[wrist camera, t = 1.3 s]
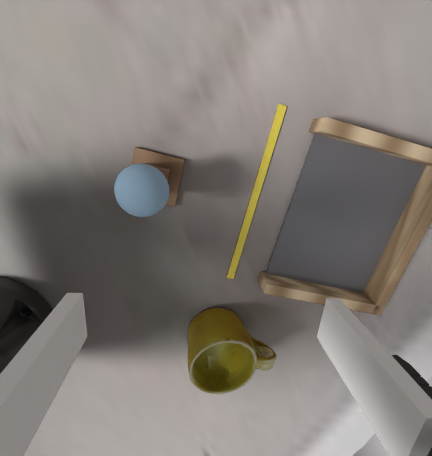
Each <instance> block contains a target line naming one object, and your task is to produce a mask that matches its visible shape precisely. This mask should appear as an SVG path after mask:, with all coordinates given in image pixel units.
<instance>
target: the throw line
mask: <svg viewBox="0 0 432 456" xmlns="http://www.w3.org/2000/svg"><path fill="white" fill-rule="evenodd" d="M286 108H287V106H284V105H281V104H279V105H278V108H277V112H276V115H275V118H274V122H273V125H272V128H271V132H270V135H269V138H268V142H267V145H266V148H265V152H264V155H263V158H262V162H261V165H260V168H259V172H258V175H257V178H256V182H255V185H254V188H253V192H252V195H251V198H250V202H249V205H248V208H247V212H246V215H245V218H244V221H243V225H242V228H241V231H240V235H239V238H238V241H237V245H236V248H235V251H234V255H233V258H232V261H231V265H230V268H229V271H228V275H227V278H231V279H234V275H235V272H236V269H237V266H238V262H239V259H240V256H241V253H242V250H243V246H244V243H245V240H246V237H247V233H248V230H249V227H250V224H251V221H252V217H253V214H254V211H255V208H256V204H257V201H258V198H259V195H260V192H261V188H262V185H263V182H264V179H265V176H266V172H267V169H268V166H269V163H270V159H271V156H272V153H273V150H274V147H275V143H276V140H277V137H278V134H279V130H280V127H281V124H282V121H283V118H284V114H285V111H286Z"/></svg>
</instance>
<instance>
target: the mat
mask: <svg viewBox="0 0 432 456" xmlns="http://www.w3.org/2000/svg"><path fill="white" fill-rule="evenodd" d="M425 167H426V165H423V164H420V163H416V162H413V161H409V160H406V159H402V158H399V157H396V156H392V155H389V154H385V153H382V152H378V151H375V150H371V149H368V148H365V147H361V146H358V145H354V144H351V143H347V142H344V141H340V140H337V139H333V138H330V137H327V136H323V135H320V134H316V133H315V134H314V137H313V140H312V143H311V145H310V148H309V151H308V154H307V157H306V160H305V163H304V165H303V168H302V171H301V174H300V177H299V180H298V182H297V185H296V188H295V191H294V194H293V197H292V199H291V202H290V205H289V208H288V211H287V214H286V217H285V219H284V222H283V225H282V228H281V231H280V234H279V236H278V239H277V242H276V245H275V248H274V251H273V254H272V256H271V259H270V262H269V265H268V268H267V271H266V274H270V275H275V276H280V277H285V278H290V279H295V280H300V281H305V282H310V283H315V284H320V285H325V286H330V287H335V288H340V289H345V290H350V291H355V292H360V293H363V292H364V290H365V288H366V286H367V284H368V282H369V280H370V278H371V276H372V274H373V272H374V270H375V268H376V266H377V264H378V262H379V260H380V258H381V256H382V254H383V252H384V250H385V248H386V246H387V244H388V242H389V240H390V238H391V236H392V233H393V231H394V229H395V227H396V225H397V223H398V221H399V219H400V217H401V215H402V213H403V211H404V209H405V207H406V205H407V203H408V201H409V199H410V197H411V195H412V193H413V191H414V189H415V187H416V185H417V183H418V181H419V179H420V177H421V175H422V173H423V171H424V169H425Z"/></svg>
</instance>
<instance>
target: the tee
mask: <svg viewBox="0 0 432 456" xmlns="http://www.w3.org/2000/svg"><path fill="white" fill-rule="evenodd" d="M184 161H185V160H184V159H181V158H177V157H173V156H169V155H165V154H161V153H157V152H153V151H149V150H145V149H141V148H137V147H135V149H134V156H133V162H132V165H133V164H148V165H151V166H153V167H155V168H157V169H158V170H159V171H161V172H162V173H163V175H164V176H165V178H166V179H167V182H168V185H169V198H168V201H167V203H166V205H170V206H174V207H175V204H176V199H177V194H178V190H179V185H180V180H181V175H182V171H183V166H184Z"/></svg>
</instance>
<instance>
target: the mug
mask: <svg viewBox="0 0 432 456" xmlns="http://www.w3.org/2000/svg"><path fill="white" fill-rule="evenodd" d="M260 355H261V356H260ZM275 359H276V354H275V352H274V351H273V350H272V349H271V348H270V347H268V346H267V345H265V344H264V343H262V342H260V341H258V340H256V339H254V338H252V337H251V336H250V335H249V333H248V332H247V331H246V329H245V328H244V326H243V323H242V322H241V320H240V318H239V317H238V316H237V315H236V314H235V313H234V312H233V311H231V310H228V309H223V308H210V309H206V310H204V311H202V312H200V313H199V314H198V315H197V316H196V317H195V318H194V319H193V320H192V321H191V323H190V325H189V329H188V368H189V375H190V379H191V382H192V383H193V384H194V385H195V386H196V387H197V388H199V389H200V390H202V391H204V392H207V393H214V394H223V393H228V392H232V391H235V390H237V389H239V388H241V387H242V386H244V385H245V384H246V383H247V382H248V381H249V380H250V379H251V377H252V375H253V374H254V372H255V369H261V370H269V369H271V368H272V366H273V364H274V362H275Z"/></svg>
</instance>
